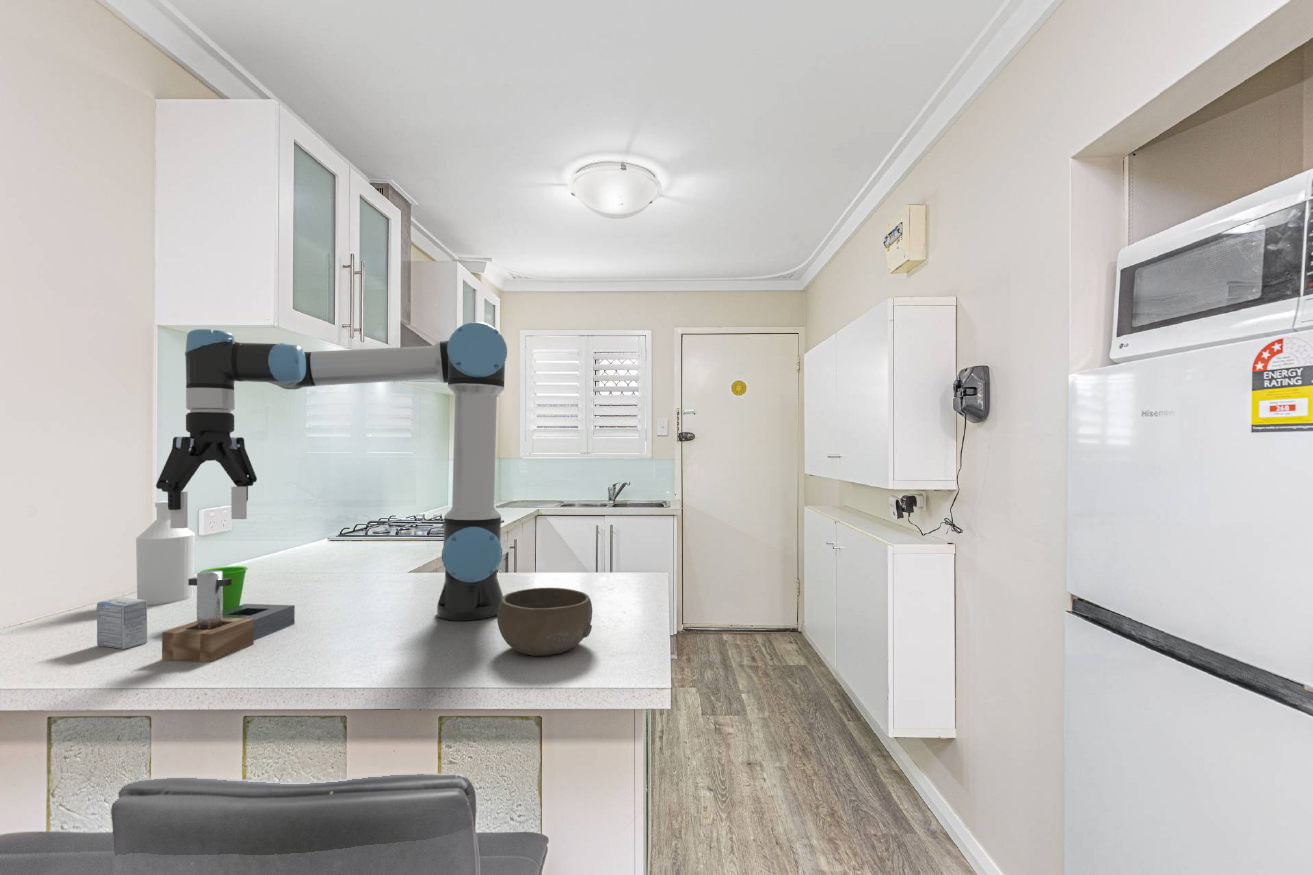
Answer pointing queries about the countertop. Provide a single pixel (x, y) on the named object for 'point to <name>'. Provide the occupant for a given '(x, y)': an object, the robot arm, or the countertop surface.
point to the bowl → (544, 620)
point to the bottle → (164, 560)
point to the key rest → (207, 640)
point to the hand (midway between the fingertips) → (210, 523)
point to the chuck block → (264, 616)
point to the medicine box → (122, 623)
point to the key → (209, 598)
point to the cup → (235, 590)
